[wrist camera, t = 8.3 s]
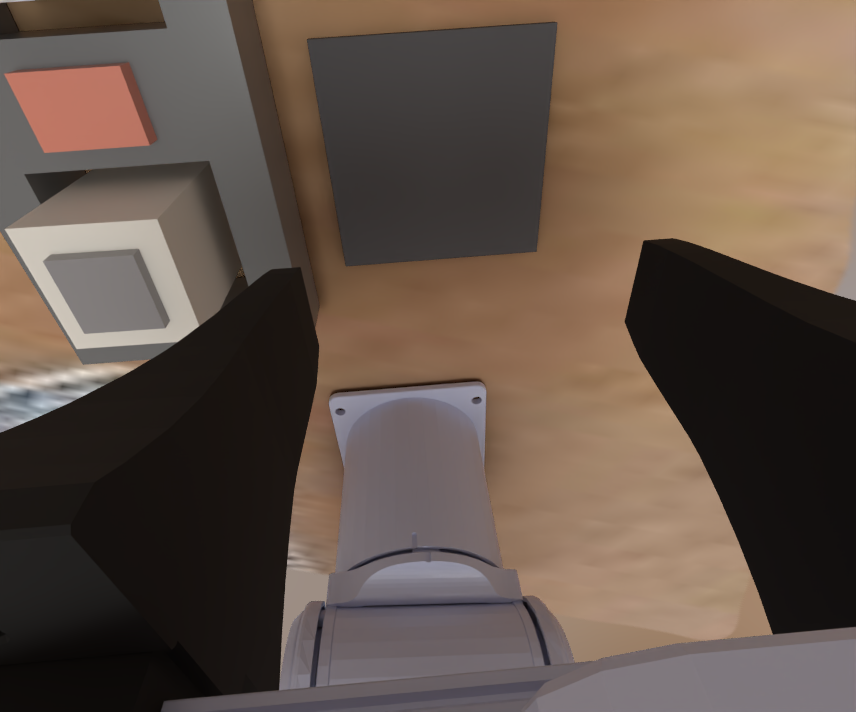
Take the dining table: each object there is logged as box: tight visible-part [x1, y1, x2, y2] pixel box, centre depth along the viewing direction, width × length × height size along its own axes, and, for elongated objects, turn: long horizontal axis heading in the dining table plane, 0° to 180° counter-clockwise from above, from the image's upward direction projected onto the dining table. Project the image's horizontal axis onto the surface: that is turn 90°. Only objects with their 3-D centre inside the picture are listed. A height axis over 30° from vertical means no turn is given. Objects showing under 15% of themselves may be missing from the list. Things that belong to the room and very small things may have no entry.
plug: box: [5, 161, 242, 349], centre depth 17 cm, size 4×4×6 cm
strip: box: [0, 0, 319, 365], centre depth 15 cm, size 21×9×6 cm, turn 3°
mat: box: [307, 22, 557, 266], centre depth 18 cm, size 8×8×1 cm
